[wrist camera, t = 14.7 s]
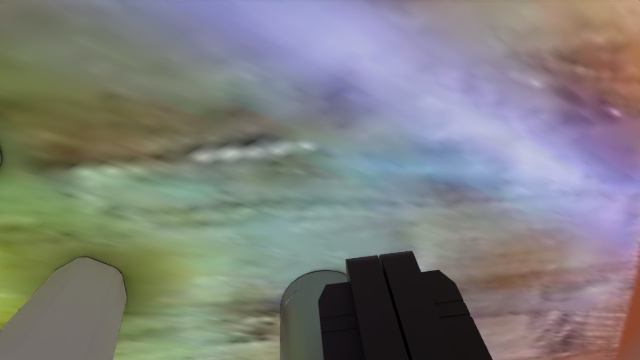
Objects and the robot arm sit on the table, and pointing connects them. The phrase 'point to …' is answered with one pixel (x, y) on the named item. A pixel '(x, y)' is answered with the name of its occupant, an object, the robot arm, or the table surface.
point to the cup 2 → (69, 316)
